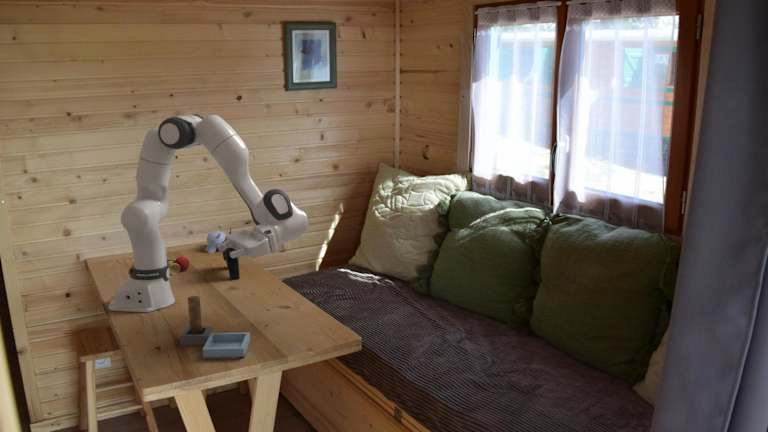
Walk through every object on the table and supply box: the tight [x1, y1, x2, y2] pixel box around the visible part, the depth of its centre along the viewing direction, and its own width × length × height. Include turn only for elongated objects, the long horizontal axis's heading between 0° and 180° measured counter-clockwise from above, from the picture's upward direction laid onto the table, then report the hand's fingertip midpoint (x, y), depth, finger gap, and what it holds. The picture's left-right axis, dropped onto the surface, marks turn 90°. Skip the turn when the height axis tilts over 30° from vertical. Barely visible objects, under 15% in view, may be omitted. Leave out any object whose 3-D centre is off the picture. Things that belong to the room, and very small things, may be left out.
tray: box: [202, 331, 252, 360], centre depth 214 cm, size 12×12×3 cm
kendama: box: [167, 256, 190, 275], centre depth 288 cm, size 8×6×18 cm
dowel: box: [187, 295, 203, 334], centre depth 220 cm, size 4×4×14 cm
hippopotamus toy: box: [204, 230, 227, 254], centre depth 320 cm, size 11×15×10 cm
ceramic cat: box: [222, 226, 240, 281], centre depth 284 cm, size 20×6×20 cm, turn 17°
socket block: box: [179, 325, 213, 347], centre depth 222 cm, size 8×8×3 cm
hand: (224, 252), depth 223 cm, fingers open, 8 cm apart
